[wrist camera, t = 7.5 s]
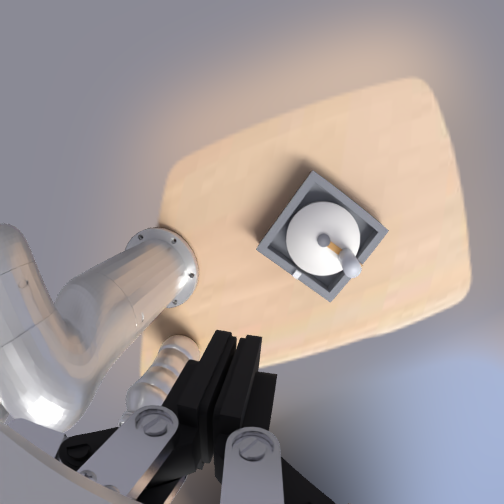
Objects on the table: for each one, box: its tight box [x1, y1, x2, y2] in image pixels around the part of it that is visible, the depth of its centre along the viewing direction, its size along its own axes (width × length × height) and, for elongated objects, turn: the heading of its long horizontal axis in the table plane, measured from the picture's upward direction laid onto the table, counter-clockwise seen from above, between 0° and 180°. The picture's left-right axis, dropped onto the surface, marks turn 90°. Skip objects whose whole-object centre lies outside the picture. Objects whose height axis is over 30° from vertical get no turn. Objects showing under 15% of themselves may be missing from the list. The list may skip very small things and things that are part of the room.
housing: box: [256, 171, 389, 302], centre depth 36 cm, size 12×12×4 cm
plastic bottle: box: [118, 335, 200, 427], centre depth 36 cm, size 6×7×20 cm
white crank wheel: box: [286, 201, 362, 278], centre depth 33 cm, size 9×9×7 cm
